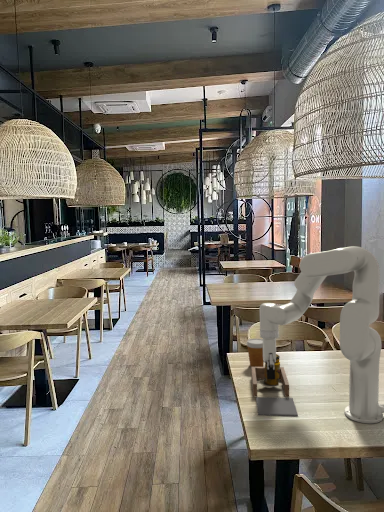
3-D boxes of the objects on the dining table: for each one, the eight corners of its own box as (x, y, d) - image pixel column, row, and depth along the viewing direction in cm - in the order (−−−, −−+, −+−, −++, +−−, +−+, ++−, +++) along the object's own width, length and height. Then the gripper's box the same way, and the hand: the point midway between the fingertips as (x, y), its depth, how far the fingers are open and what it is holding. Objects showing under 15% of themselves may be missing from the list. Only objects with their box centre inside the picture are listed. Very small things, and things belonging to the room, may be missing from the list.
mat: (292, 399, 161) (292, 397, 161) (297, 416, 147) (297, 414, 147) (256, 398, 162) (256, 397, 162) (257, 415, 148) (257, 413, 148)
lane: (283, 378, 182) (283, 367, 182) (289, 397, 163) (289, 384, 162) (251, 377, 184) (251, 366, 183) (253, 396, 164) (253, 384, 164)
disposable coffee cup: (245, 362, 204) (245, 338, 203) (265, 362, 203) (265, 338, 202) (247, 369, 194) (247, 344, 193) (268, 369, 194) (267, 343, 193)
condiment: (283, 384, 171) (285, 356, 170) (268, 388, 166) (270, 359, 165) (270, 378, 177) (272, 351, 176) (255, 382, 172) (257, 354, 171)
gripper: (258, 328, 179) (260, 368, 181) (261, 339, 162) (262, 383, 164) (276, 328, 179) (277, 368, 180) (280, 339, 161) (281, 384, 163)
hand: (270, 375), depth 172 cm, fingers closed on condiment, 6 cm apart
